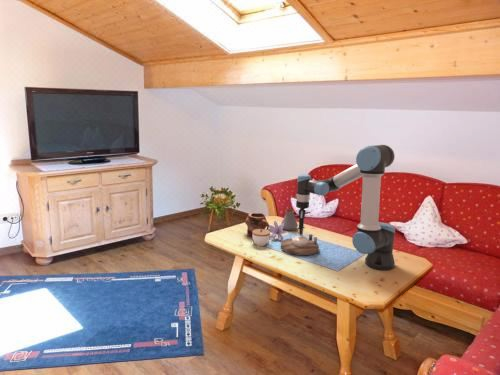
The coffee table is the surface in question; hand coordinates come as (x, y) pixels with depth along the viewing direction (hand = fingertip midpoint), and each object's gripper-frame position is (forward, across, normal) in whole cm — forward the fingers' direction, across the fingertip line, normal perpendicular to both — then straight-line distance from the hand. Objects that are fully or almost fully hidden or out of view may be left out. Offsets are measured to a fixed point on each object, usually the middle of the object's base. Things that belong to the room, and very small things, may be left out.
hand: (300, 238), depth 234 cm
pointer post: (+4, -7, +6) cm, 10 cm away
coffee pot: (+5, -29, -5) cm, 29 cm away
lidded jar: (+5, +3, -23) cm, 24 cm away
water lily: (+5, -9, -16) cm, 18 cm away
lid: (+1, +5, 0) cm, 5 cm away
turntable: (+4, +6, 0) cm, 7 cm away
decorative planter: (+5, -11, -28) cm, 30 cm away
